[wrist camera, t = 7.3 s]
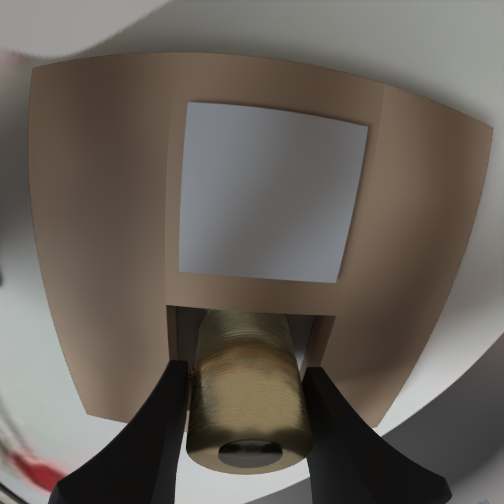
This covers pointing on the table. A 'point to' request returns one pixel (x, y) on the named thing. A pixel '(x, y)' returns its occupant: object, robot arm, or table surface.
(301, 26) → the table surface
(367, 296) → the jig plate
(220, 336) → the brass bushing
